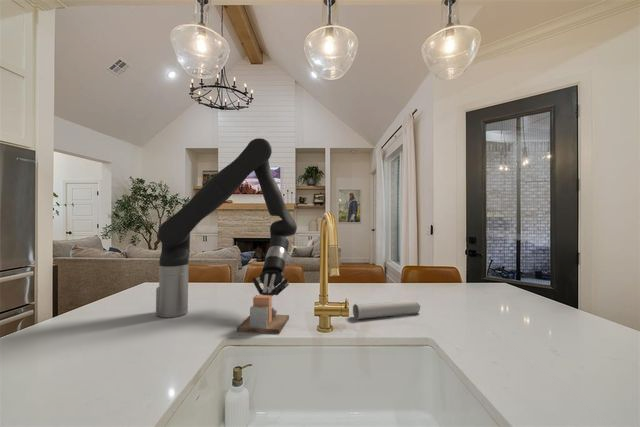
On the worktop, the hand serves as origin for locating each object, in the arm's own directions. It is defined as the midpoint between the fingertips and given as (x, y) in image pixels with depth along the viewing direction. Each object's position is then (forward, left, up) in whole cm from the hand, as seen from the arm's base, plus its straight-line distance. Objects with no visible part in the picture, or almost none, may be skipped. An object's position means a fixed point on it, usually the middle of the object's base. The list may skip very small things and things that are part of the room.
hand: (264, 305), depth 93 cm
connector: (0, -6, -5) cm, 7 cm away
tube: (+40, +14, -6) cm, 43 cm away
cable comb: (0, +5, -5) cm, 7 cm away
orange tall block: (0, -3, -4) cm, 5 cm away
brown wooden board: (0, 0, -6) cm, 6 cm away
